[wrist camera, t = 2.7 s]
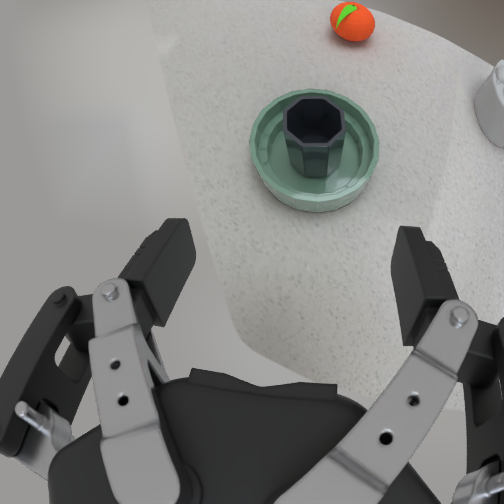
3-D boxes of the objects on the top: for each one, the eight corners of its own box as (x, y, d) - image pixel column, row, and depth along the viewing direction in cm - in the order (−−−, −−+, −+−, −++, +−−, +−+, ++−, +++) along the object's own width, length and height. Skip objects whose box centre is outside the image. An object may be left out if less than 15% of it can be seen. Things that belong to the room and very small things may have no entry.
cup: (315, 188, 34) (315, 158, 26) (280, 156, 35) (270, 120, 27) (349, 156, 34) (357, 120, 25) (313, 126, 35) (311, 86, 27)
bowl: (316, 238, 34) (316, 230, 29) (235, 160, 37) (224, 143, 32) (393, 160, 33) (403, 142, 28) (311, 94, 36) (310, 71, 31)
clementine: (355, 59, 36) (358, 26, 29) (318, 39, 37) (315, 7, 30) (380, 37, 35) (385, 6, 28) (345, 19, 37) (345, -11, 30)
